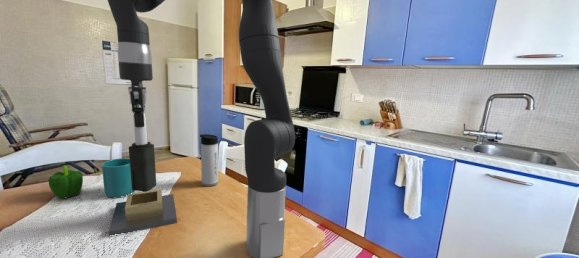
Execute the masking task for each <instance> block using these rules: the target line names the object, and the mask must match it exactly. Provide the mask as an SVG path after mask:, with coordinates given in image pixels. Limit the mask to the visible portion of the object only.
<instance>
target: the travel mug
mask: <svg viewBox="0 0 579 258" xmlns="http://www.w3.org/2000/svg"><path fill="white" fill-rule="evenodd" d="M199 138H201V139H200V141H201V142H200V156H201V157H200V158H201V160H200V161H201V162H200V163H201V166H200V167H201V168H200V169H201V185H202V186H203V187H214V186H217V185H218V183H219V138H218V136H217V135H215V134H200V135H199Z"/></svg>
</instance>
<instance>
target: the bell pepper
mask: <svg viewBox="0 0 579 258" xmlns="http://www.w3.org/2000/svg"><path fill="white" fill-rule="evenodd" d="M62 169H63V171H56V172H55V173H53V175H51V176H49V178H48V186H49V188H50V190H51V193H52V194H53V196H54V197H56V198H57V199H59V198H60V199H66V198H65V197H68V198H69V197H74V196H73V195H75V196H77V195H76V194H78V193H79V194H80V193H81V192H82V188H83V184H84V183H83V182H84V181H83V180H84V176H83V172H82V171H81V170H72V169H68V166H67V165H66V164H65V165H63V166H62ZM79 194H78V195H79Z"/></svg>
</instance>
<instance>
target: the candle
mask: <svg viewBox="0 0 579 258" xmlns="http://www.w3.org/2000/svg"><path fill="white" fill-rule="evenodd" d="M137 107H141V106H140V105H137ZM132 116H133V120H134V114H133V115H132ZM146 117H147V116H146V114H145V113H144V127H135V122H134V121H133V128H134V129H133V130H134V141H135V142H132V144H131V145H130V146H128V155H129V158H128V159H130V171H131V183H132V190H133V191H134V192H135V191H136V192H146V191H152V189H155V187H157V174H156V173H157V172H156V156H155V145H154V144H152V143H151V142H150V141H148V135H147V132H148V131H147V119H146Z"/></svg>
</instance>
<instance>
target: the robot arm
mask: <svg viewBox="0 0 579 258" xmlns="http://www.w3.org/2000/svg"><path fill="white" fill-rule="evenodd" d="M241 1H242V12H241V16H240V20H239V27H238V43H239V51H240V58H241V64H242V66H243V69H244V70H245V72H246V74H247V76H248V78H249V79H250V81H251V83H252V84H253V86H254V87H255V89H256V90H257V92H258V93H259V95H260V97H261V101H262V103H263V108H264V113H265V118H264V119H257V120H253V121H251V122H250V123H249V124H248V125H247V127H246V129H245V133H244V138H243V139H244V140H243V141H244V143H243V145H244V146H243V148H244V149H243V150H244V168H245V169H244V170H245V174H246V178H247V200H246V201H247V205H246V208H247V209H246V210H247V211H246V244H245V245H246V247H245V248H246V251H247V253H248V254H249V256H251V257H253V258H277V257H280V256H282V255H284V245H285V244H284V243H285V241H284V240H285V230H286V229H285V227H286V225H285V224H286V220H285V207H286V192H287V191H286V189H287V187H286V186H287V174H286V173H285V171H284V170H282V169H279V168H278V167H277V168H276V166H275V165H276V164H275V161H276V160H275V158H278V157H280V156H284V155H287V154H288V153H290V152H291V151H293V148H294V146H295V144H296V143H295V141H296V133H295V132H296V131H295V127H294V126H295V125H294V122H293V121H294V120H293V117H292V113H291V109H290V106H289V105H290V104H289V99H288V95H287V90H286V83H285V76H284V71H283V65H282V62H283V61H282V54H281V46H280V45H281V43H280V37H279V32H278V26H277V19H276V14H275V10H274V5H273V1H272V0H241ZM164 2H166V0H107V3H108V6H109V8H110V11H111V14H112V18H113V20H114V22H115V25H116V31H117V33H116V34H117V61H118V70H119V71H118V74H119V79H120V80H123V81H130V84H131V86H128V87H127V92H128V94H129V102H130V103H129V104H130V105H131V111H132V114H133V115H134V119H133V123H134V122H135V127H144V114H145V112H146V111H145V110H146V108H145V107H146V103H147V99H146V98H147V97H146V94H147V87H145V86H143V82H144V81H145V82H151V81H153V76H154V75H153V62H152V61H153V59H152V51H151V47H150V46H151V45H150V31H149V27H148V24H147V23H146V22H145V21H143V20H142V19H140V17H139V15H138V13H149V12H151V11H153V10H154V9H156V8H158V7H159V6H160V5H161V4H163V3H164ZM137 105H140V106H141V107H137Z"/></svg>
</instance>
